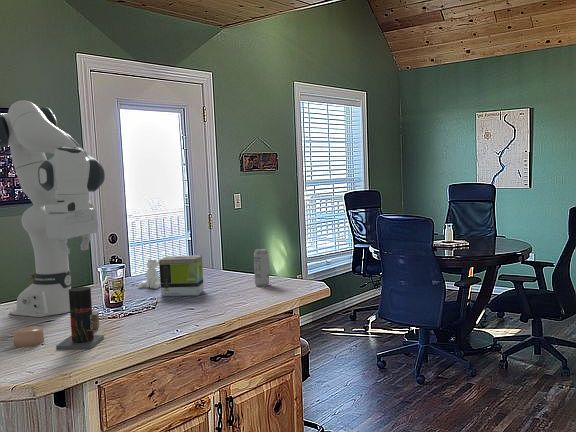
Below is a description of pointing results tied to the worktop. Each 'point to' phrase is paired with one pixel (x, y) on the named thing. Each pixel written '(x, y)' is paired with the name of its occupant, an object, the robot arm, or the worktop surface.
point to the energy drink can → (261, 267)
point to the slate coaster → (87, 345)
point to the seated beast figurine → (151, 276)
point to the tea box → (181, 275)
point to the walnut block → (95, 319)
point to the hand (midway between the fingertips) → (75, 252)
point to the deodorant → (81, 314)
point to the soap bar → (28, 336)
